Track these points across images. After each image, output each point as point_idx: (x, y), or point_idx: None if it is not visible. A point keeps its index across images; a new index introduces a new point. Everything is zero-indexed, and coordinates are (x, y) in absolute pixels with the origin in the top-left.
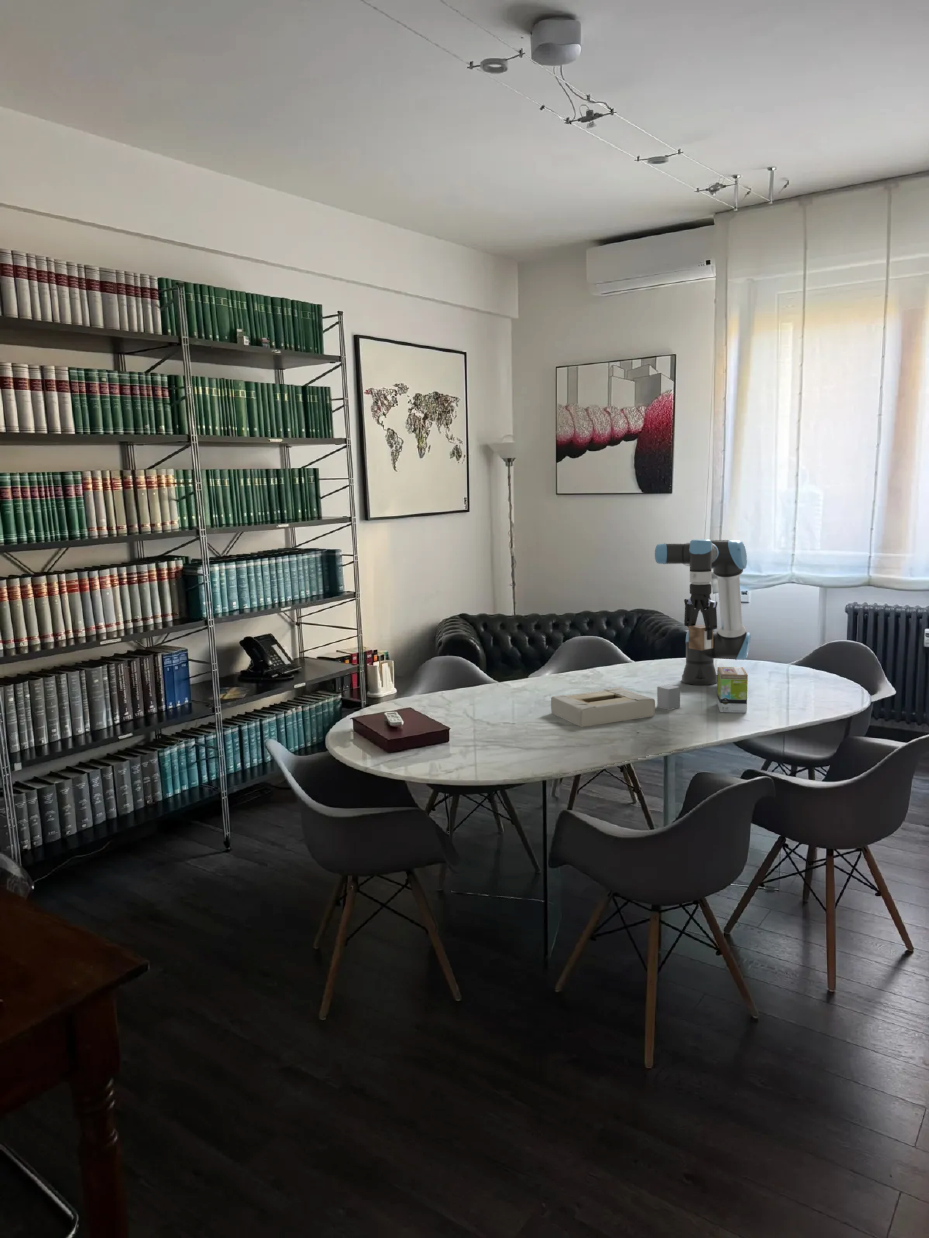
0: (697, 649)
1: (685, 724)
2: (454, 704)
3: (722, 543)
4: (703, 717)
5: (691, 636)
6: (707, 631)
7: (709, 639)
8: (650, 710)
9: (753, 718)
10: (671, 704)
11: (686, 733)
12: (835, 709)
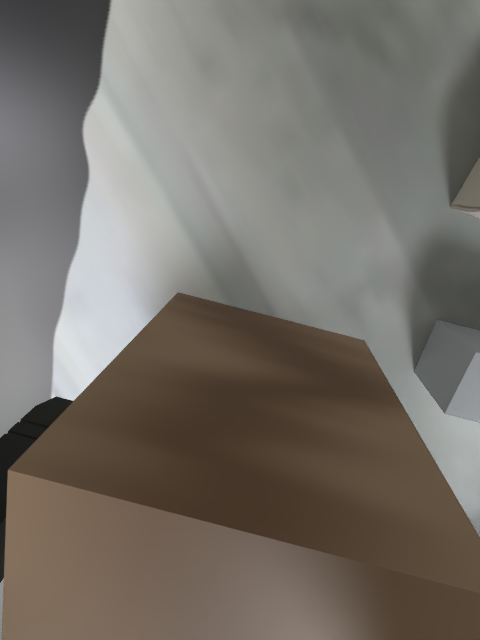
0: (233, 308)
1: (281, 163)
2: None
3: None
4: (276, 293)
5: (346, 407)
6: (2, 499)
7: (50, 404)
8: (472, 188)
9: None
10: (437, 339)
11: (210, 36)
12: None
